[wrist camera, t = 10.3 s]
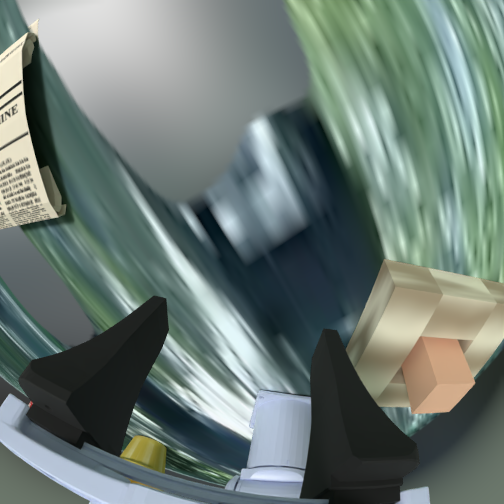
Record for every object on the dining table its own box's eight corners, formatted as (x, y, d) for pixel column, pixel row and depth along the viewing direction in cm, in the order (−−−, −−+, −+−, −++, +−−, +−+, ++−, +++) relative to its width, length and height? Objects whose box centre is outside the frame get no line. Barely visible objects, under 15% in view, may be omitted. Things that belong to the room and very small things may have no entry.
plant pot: (180, 445, 44) (165, 490, 35) (172, 458, 49) (160, 496, 40) (126, 423, 43) (107, 466, 35) (126, 439, 48) (110, 476, 40)
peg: (431, 353, 24) (448, 411, 18) (397, 351, 24) (411, 413, 18) (450, 324, 22) (475, 382, 16) (415, 320, 22) (437, 384, 16)
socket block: (441, 381, 27) (448, 405, 24) (332, 376, 28) (333, 404, 25) (506, 284, 20) (523, 307, 17) (384, 259, 21) (395, 286, 18)
